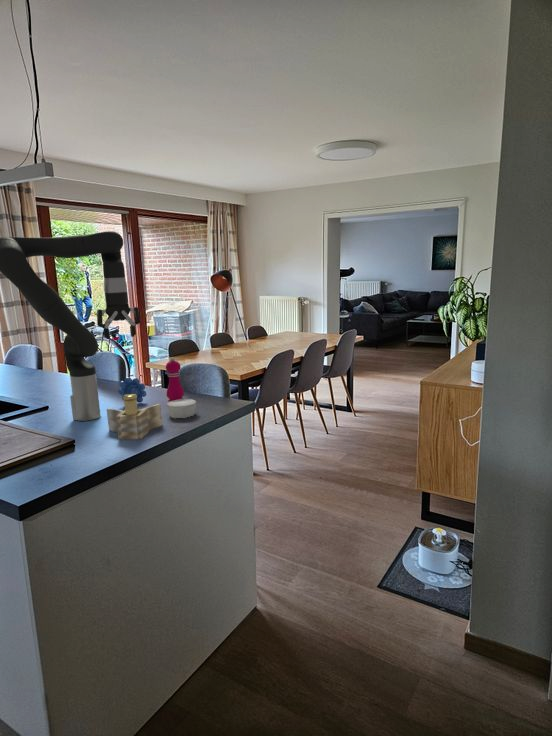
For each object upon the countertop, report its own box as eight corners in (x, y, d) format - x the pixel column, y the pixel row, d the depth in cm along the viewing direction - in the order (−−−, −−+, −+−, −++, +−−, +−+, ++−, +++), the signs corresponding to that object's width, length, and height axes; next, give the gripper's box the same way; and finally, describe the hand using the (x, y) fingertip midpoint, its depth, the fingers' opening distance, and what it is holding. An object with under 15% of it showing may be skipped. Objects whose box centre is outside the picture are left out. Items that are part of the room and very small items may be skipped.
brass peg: (125, 437, 161) (121, 397, 158) (129, 433, 165) (125, 394, 162) (137, 437, 160) (134, 397, 158) (142, 433, 165) (138, 393, 162)
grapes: (122, 408, 197) (119, 380, 195) (118, 405, 203) (115, 377, 200) (150, 404, 203) (147, 376, 201) (145, 400, 209) (143, 374, 206)
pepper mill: (176, 406, 197) (172, 359, 193) (163, 405, 201) (159, 358, 197) (188, 402, 203) (184, 356, 199) (175, 400, 207) (172, 355, 203)
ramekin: (186, 409, 192) (185, 397, 191) (203, 414, 184) (202, 401, 183) (162, 416, 185) (161, 403, 184) (178, 421, 177) (177, 407, 176)
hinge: (97, 439, 160) (94, 416, 158) (114, 425, 174) (112, 404, 173) (149, 438, 158) (147, 415, 157) (162, 424, 173) (161, 403, 172)
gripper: (97, 292, 159) (102, 340, 162) (139, 290, 166) (143, 336, 169) (92, 292, 165) (97, 338, 168) (133, 290, 172) (137, 334, 176)
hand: (120, 337), depth 169 cm, fingers open, 8 cm apart
